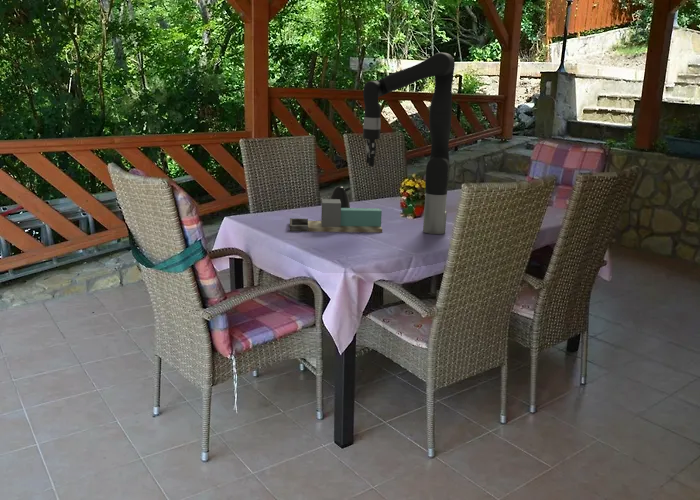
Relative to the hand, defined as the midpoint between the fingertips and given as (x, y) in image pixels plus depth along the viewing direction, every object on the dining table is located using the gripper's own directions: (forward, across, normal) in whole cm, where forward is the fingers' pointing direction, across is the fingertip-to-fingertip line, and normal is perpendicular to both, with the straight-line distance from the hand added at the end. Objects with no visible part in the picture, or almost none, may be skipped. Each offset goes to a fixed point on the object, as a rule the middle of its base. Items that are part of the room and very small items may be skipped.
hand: (370, 164), depth 282 cm
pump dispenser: (+27, +10, +12) cm, 32 cm away
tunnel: (+25, -9, +17) cm, 32 cm away
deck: (+27, -10, +15) cm, 33 cm away
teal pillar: (+25, -10, +4) cm, 28 cm away
